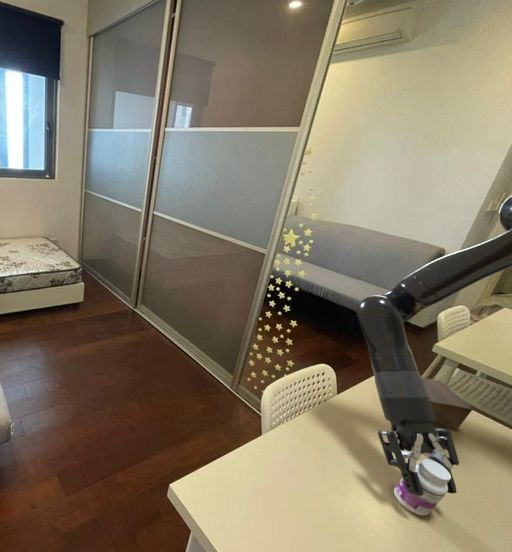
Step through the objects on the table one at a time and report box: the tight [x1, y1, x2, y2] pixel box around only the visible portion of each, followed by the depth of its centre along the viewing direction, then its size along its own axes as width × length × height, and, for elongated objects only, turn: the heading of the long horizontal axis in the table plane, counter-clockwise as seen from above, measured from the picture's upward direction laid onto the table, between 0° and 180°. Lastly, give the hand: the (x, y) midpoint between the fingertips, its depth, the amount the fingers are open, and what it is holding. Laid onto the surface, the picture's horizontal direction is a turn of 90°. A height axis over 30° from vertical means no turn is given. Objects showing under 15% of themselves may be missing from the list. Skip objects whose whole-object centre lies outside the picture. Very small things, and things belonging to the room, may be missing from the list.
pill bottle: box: [393, 458, 451, 516], centre depth 59 cm, size 5×5×10 cm
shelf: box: [421, 377, 474, 431], centre depth 83 cm, size 10×10×7 cm
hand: (432, 493), depth 58 cm, fingers open, 6 cm apart
